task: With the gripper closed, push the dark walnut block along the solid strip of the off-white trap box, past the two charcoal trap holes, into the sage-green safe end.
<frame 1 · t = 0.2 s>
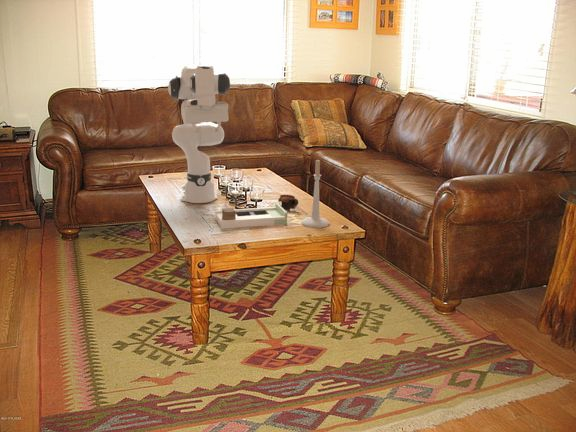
hand: (206, 132, 283), 39 cm above the table, tool pointing down, fingers open, 8 cm apart
walnut block: (228, 219, 278), point 2 cm above the table, touching trap box
trap box: (250, 220, 285), on the table
candlestick: (315, 223, 284), on the table
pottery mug: (288, 209, 305), on the table
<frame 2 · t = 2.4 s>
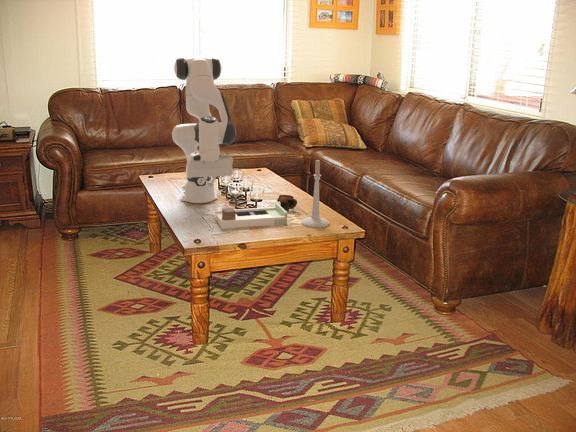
hand: (209, 186, 271), 18 cm above the table, tool pointing down, fingers closed
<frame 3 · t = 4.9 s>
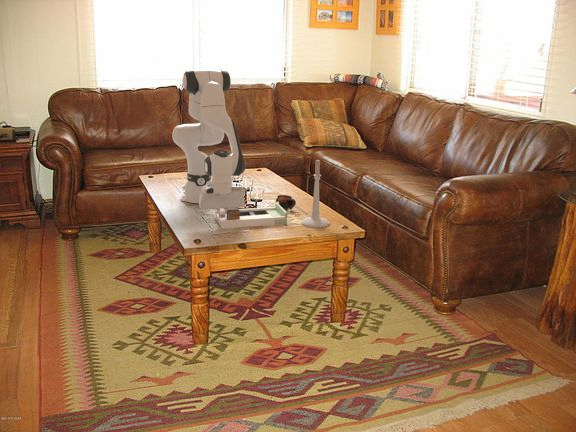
hand: (222, 217, 277), 4 cm above the table, tool pointing down, fingers closed
walnut block: (233, 219, 279), point 3 cm above the table, touching gripper
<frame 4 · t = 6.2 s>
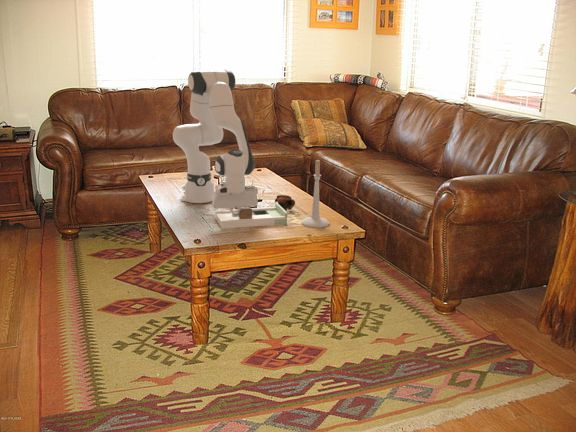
hand: (235, 216, 279), 4 cm above the table, tool pointing down, fingers closed
walnut block: (245, 218, 280), point 3 cm above the table, touching gripper
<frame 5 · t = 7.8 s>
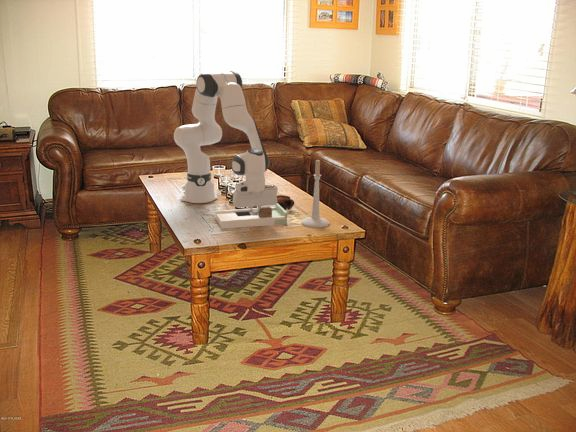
hand: (255, 215, 281), 4 cm above the table, tool pointing down, fingers closed
walnut block: (265, 217, 283), point 3 cm above the table, touching gripper
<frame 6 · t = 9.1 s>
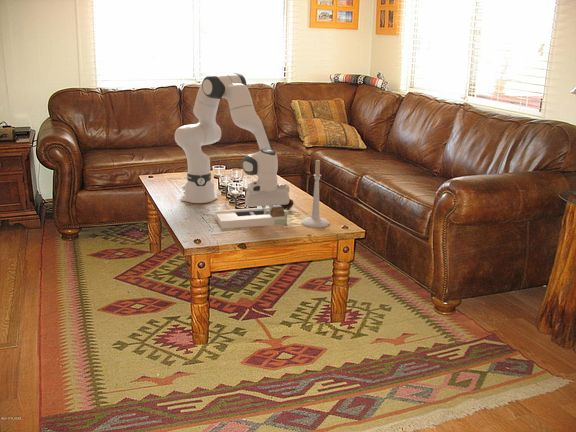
hand: (267, 214, 283), 4 cm above the table, tool pointing down, fingers closed
walnut block: (276, 216, 284), point 3 cm above the table, touching gripper, trap box
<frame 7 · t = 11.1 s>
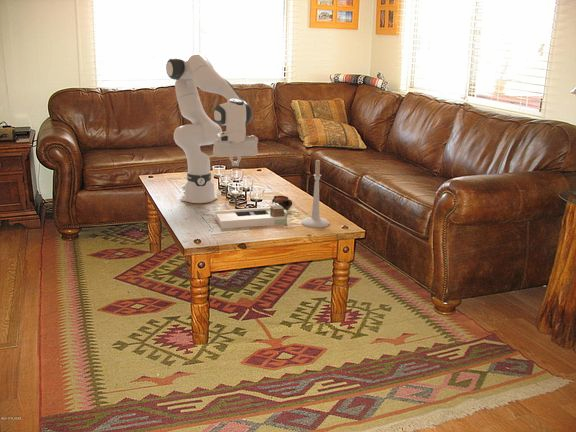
hand: (235, 165, 282), 25 cm above the table, tool pointing down, fingers closed
walnut block: (276, 216, 284), point 2 cm above the table, touching trap box
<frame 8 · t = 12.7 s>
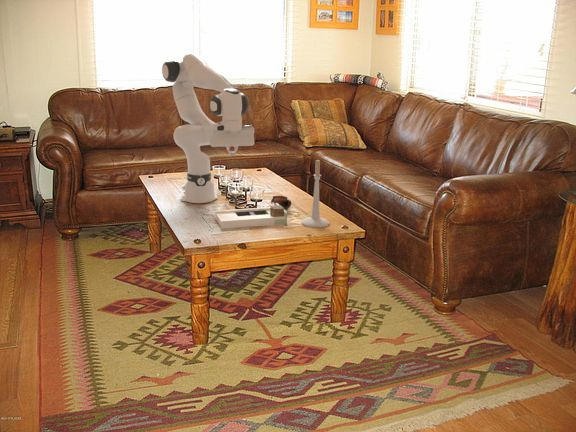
hand: (232, 155, 282), 29 cm above the table, tool pointing down, fingers closed
at the end: walnut block inside the target area on the trap box (0.4 cm from its centre), point 2.5 cm above the trap box's base; walnut block point 2.5 cm above the table; walnut block tilted 0° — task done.
